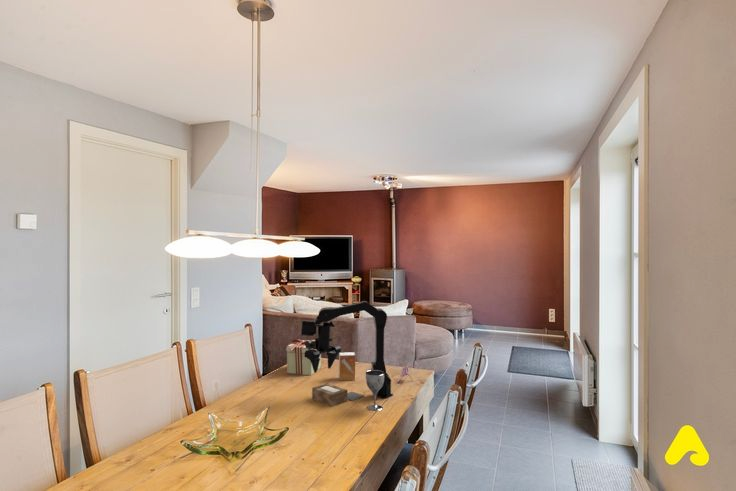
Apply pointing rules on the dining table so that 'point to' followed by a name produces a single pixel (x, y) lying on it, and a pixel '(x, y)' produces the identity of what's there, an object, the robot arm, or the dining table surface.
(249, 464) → the dining table surface
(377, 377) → the wine glass
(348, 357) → the small box
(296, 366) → the gift box
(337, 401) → the rectangular frame
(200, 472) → the dining table surface
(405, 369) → the lily
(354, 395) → the mat
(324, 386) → the block
